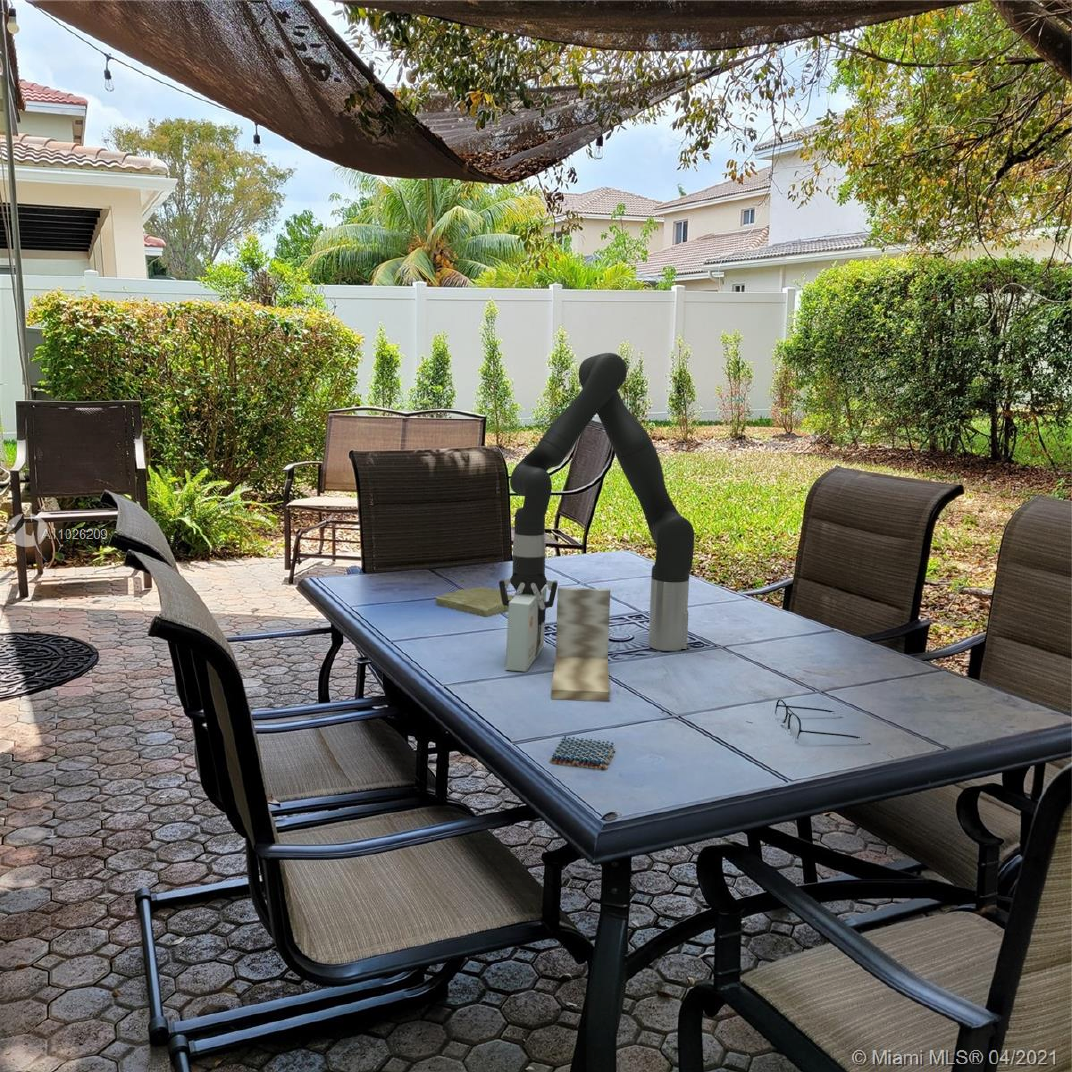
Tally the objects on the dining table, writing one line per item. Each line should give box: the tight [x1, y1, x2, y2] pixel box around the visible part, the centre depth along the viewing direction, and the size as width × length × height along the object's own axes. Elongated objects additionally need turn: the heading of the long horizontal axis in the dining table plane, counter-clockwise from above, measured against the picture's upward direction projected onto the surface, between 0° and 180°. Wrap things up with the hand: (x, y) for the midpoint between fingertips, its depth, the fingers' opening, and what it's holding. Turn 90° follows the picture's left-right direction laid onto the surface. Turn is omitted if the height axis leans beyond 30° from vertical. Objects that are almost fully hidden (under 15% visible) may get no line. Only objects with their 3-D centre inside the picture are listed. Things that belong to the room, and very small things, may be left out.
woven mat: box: [548, 735, 616, 770], centre depth 176 cm, size 10×11×2 cm
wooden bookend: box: [550, 586, 611, 702], centre depth 216 cm, size 12×25×18 cm, turn 177°
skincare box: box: [504, 585, 548, 672], centre depth 231 cm, size 21×6×16 cm, turn 168°
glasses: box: [774, 698, 861, 740], centre depth 191 cm, size 14×15×5 cm
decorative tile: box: [435, 586, 514, 618], centre depth 283 cm, size 19×20×4 cm
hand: (527, 623), depth 231 cm, fingers closed on skincare box, 5 cm apart
